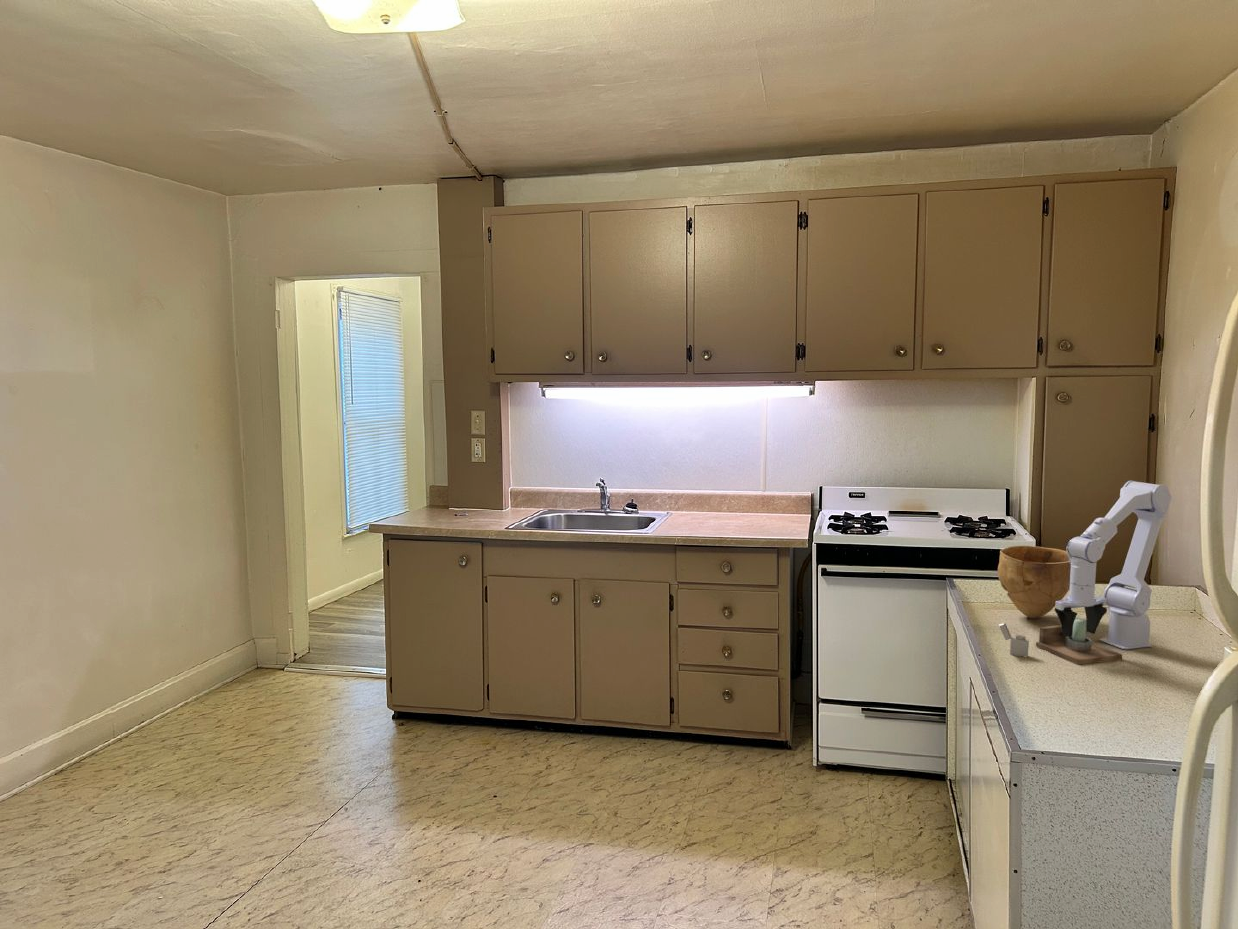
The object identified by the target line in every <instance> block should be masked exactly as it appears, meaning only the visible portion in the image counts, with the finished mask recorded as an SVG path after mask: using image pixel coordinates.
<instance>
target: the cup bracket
mask: <svg viewBox="0 0 1238 929" xmlns="http://www.w3.org/2000/svg"><path fill="white" fill-rule="evenodd" d="M1072 635H1073V632H1072ZM1036 646H1037V647H1036ZM1035 647H1036V648H1038V649H1041V650H1043V651H1045V650H1046V651H1045V652H1047V651H1048V652H1047V653H1049V652H1050V654H1052V655H1054V656H1056V657H1058V658H1061V659H1063V660H1066V661H1068V662H1070V663H1073V664H1075V665H1077V666H1078V665H1085V664H1086V663H1087V664H1093V663H1092V662H1095V663H1100V662H1101V663H1102V662H1109V661H1118V659H1119V660H1123V654H1122V653H1119V652H1116V651H1114V650H1112V649H1110V648H1106V647H1103V646H1101V645H1099V644H1096V643H1094V642H1093V641H1092V639H1091V638H1089V637H1086V638H1085V642H1078V641H1073V640H1072V636H1071V637H1068V636H1066V635H1063V631H1062V626H1061V624H1059V625H1051V626H1041V627H1039V637H1038V641H1037V642H1035Z"/></svg>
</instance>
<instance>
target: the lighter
mask: <svg viewBox="0 0 1238 929" xmlns="http://www.w3.org/2000/svg"><path fill="white" fill-rule="evenodd" d="M998 626H999V629H1000V631H1001V633H1002V635H1003V637H1004V639H1005V641H1008V640H1010V646H1009V647H1010V649H1009V655H1010V656H1015V657H1016V656H1017V657H1021V656H1026V657H1025V658H1029V647H1030V646H1029V643H1030V639H1027V638H1026V636H1025V635H1023V634H1015V636H1012V635H1011V633H1010V630H1009V628H1008V626H1007V624H1006V622H1001V623H999V624H998Z"/></svg>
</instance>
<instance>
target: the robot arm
mask: <svg viewBox="0 0 1238 929" xmlns="http://www.w3.org/2000/svg"><path fill="white" fill-rule="evenodd" d="M1172 499H1173V498H1172V494H1171V492H1170V490H1169V488H1168V486H1167V485H1165V484H1154V483H1148V482H1141V481H1135V480H1128V481H1127V482H1125V483H1124V485H1123V486H1122V487H1121V488H1120V493H1119V498H1118V499H1117V501H1116V502H1115V504H1114V505H1112V507H1111V508H1110V510H1109V511H1108V512H1107V514H1105V516H1104V517H1097V518H1095V519H1094V520H1093V522H1092V523H1091V524H1090V525H1089V526H1088V527H1087V528H1086V529H1085V531H1084V532H1083V533H1081V534H1080V536H1075V537H1073V538H1072V539H1070V540H1069V541H1068V543H1067V546H1066V548H1065V549H1066V550H1065V551H1066V552H1067V554H1068V556H1069V562H1070V564H1071V572H1070V588H1069V591H1068V595H1066V598H1063V599H1062V600H1060V601H1056V604H1055V607H1054V611H1055V613H1056V615H1057V617H1058V619H1059V622H1060V625H1061V626H1062V631H1063V635H1066V636H1068V637H1071V636H1072V632H1073V624H1074V620H1075V619H1077V615H1078V612H1075V611H1073V609H1079V608H1084V611H1085V618H1086V620H1085V621H1086V622H1087V623H1086V633H1089V634H1092V635H1095V634H1096V633H1097V629H1098V626H1099V624H1100V622H1101V620H1102V618H1103V617H1104V616H1105V615H1106V614H1107V611H1108V610H1109V618H1108V632H1107V633H1108V634H1107V637H1102V638H1100V639H1099V641H1101V642H1103V643H1106V644H1109V645H1111V646H1114V647H1116V648H1118V649H1122V650H1133V649H1139V648H1140V649H1141V648H1149V647H1152V644H1151V643H1150V636H1151V635H1150V632H1151V620H1150V617H1149V615H1148V614H1147V612H1148V610H1149V608H1150V607H1151V594H1152V588H1151V587H1150V586H1149V584H1148V583H1147V582H1146V581H1145V577H1146V574H1147V570H1148V568H1149V564H1150V560H1151V557H1152V555H1153V553H1154V548H1155V546H1156V542H1157V538H1158V536H1159V533H1160V529H1161V527H1162V523H1163V520H1164V518H1165V517H1166V516H1167V513H1168V510H1169V506H1170V505H1171V504H1170V503H1171V500H1172ZM1132 513H1134V514H1135V515H1136V516H1137V519H1138V520H1137V523H1136V526H1135V529H1134V532H1133V536H1132V538H1131V542H1130V545H1129V549H1128V552H1127V555H1126V558H1125V561H1124V565H1123V567H1122V570H1121V573H1120V574H1118V575H1116V576H1113V577H1112V578H1110V581H1109V583H1108V585H1107V586H1106V588H1105V589H1104V590H1103V594H1102V596H1095V590H1096V576H1097V575H1096V574H1097V562H1098V561H1099V560H1101V559H1102V557H1103V555H1104V551H1105V549H1106V545H1107V544H1108V543H1109V542H1110V541H1111V540H1112V538H1113V537H1114V536H1116V534H1117V533H1118V525H1120V524H1121V523H1122V522H1123V521H1124V520H1125V519H1126V518H1127V517H1129V516H1130V515H1131V514H1132ZM1106 606H1107V607H1106Z"/></svg>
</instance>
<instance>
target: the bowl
mask: <svg viewBox="0 0 1238 929" xmlns="http://www.w3.org/2000/svg"><path fill="white" fill-rule="evenodd" d="M998 560H999V562H998V566H997V576H998V580H999V582H1000V585H1001V587H1002V589H1003V590H1004V591H1006V592H1007V593H1006V595H1007V597H1008V598H1009V600H1010V601H1011V602H1012V604H1014V606H1015V607H1016V609H1017V610H1018V611H1019V612H1020V613H1021V614H1023V615H1024V616H1026V617H1028V618H1030V619H1037V618H1041V617H1043V616H1045V615H1047V614H1048V613H1050V612H1051V611H1052V610H1053V609H1054V608H1055V604H1056V601H1060V600H1063V599H1065V597H1066V596H1067V594H1068V593H1069V588H1070V572H1071V564H1070V562H1069V556H1068V554H1067V551H1066V550H1063V549H1059V548H1051V547H1043V546H1034V545H1033V546H1032V545H1011V546H1007V547H1003V548H1001V549H1000V551H999V559H998Z"/></svg>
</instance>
